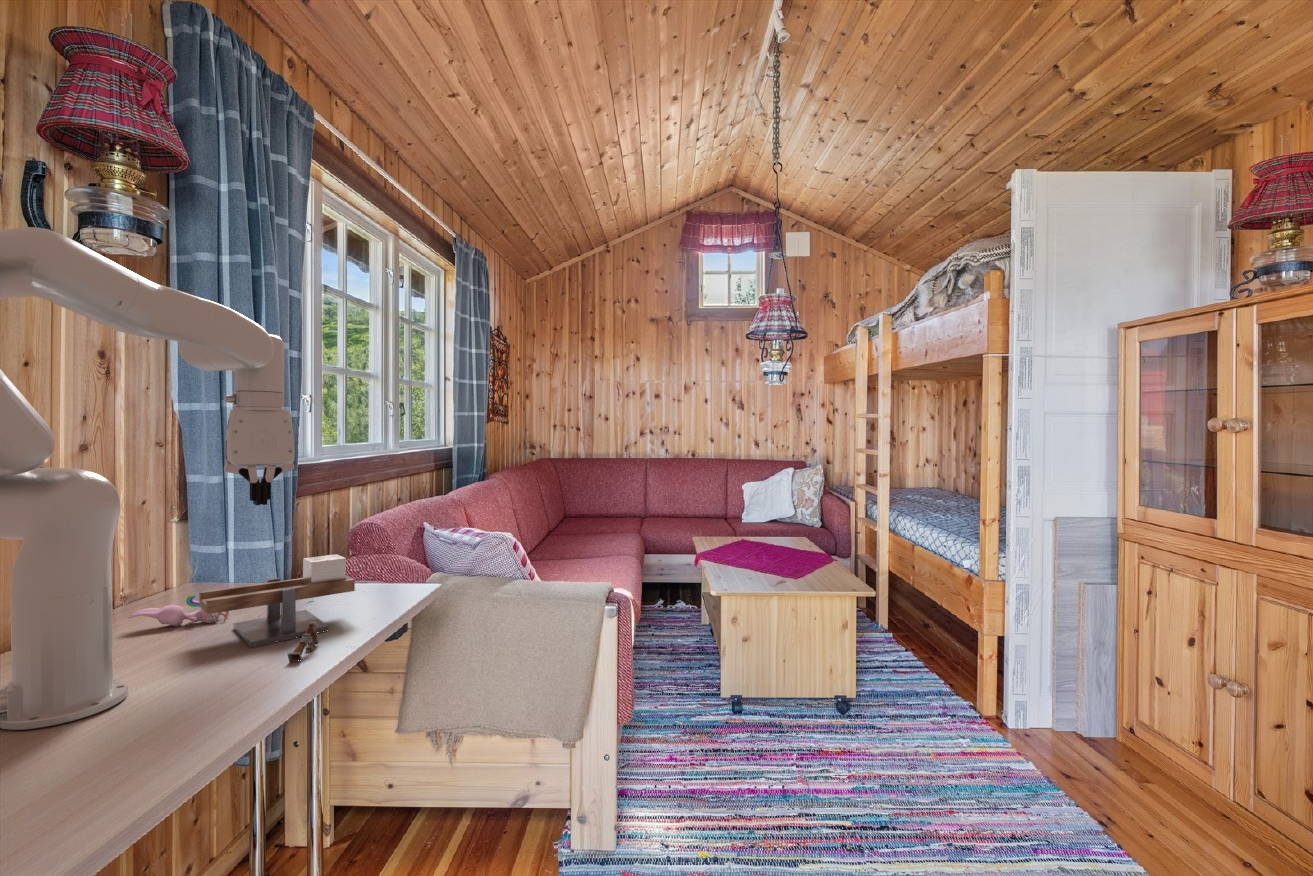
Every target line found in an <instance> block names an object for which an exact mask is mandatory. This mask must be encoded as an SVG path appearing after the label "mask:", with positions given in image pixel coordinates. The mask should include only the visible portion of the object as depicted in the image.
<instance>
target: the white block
mask: <svg viewBox="0 0 1313 876" xmlns="http://www.w3.org/2000/svg"><path fill="white" fill-rule="evenodd" d="M302 559H303V560H302V578H303V585H305V586H306V585H313V584H319V583H326V582H333V581H340V580H346V575H347V557H344V556H342V555H340V554H338V553H337V554H327V555H320V556H312V557H304V558H302Z"/></svg>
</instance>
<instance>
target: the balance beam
mask: <svg viewBox="0 0 1313 876" xmlns="http://www.w3.org/2000/svg"><path fill="white" fill-rule="evenodd" d="M355 580H356V579H355V578H352V577H350V576H349V575H347V574H346V580H340V581H333V582H326V583H319V584H313V585H306V586H305V585H303V577H299V578H292V579H285V580H284V579H283V580H280V581H276V582H269V583H266V582H264V583H256V584H249V585H247V584H246V585H240V586H234V587H226V588H217V589H212V590H204V591H199V593H198V597H199V598H198V601H199V605H200V606H201V607H202V609H203V610H204V611H205V612H206V614H213V613H219V612H222V613H226V612H225V611H229V612H230V611H237V610H242V609H248V608H249V609H250V608H256V607H261V606H262V607H263V606H267V605H269V604H276V603H280V604H281V589H287V588H293V587H294V588H295V600H296V601H300V600H307V599H313V598H318V597H319V598H321V597H324V596H331V595H337V594H343V593H351V592H356V591H355V590H356V589H355V583H356V581H355ZM201 607H200V608H201Z"/></svg>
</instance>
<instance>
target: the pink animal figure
mask: <svg viewBox="0 0 1313 876" xmlns="http://www.w3.org/2000/svg"><path fill="white" fill-rule="evenodd" d="M196 597H197V595H195V594H191V595H188V596H187V597H186V599H185V602H186V605H187V606H189V607H193V608H197V607H198V608H200V609H198V610H196V611H192V612H191V613H189V612H188V613H187V612H185V608H184V607H183V606H181V605H177V604H169V605H165V606H163V607H162V608H158V607H148V608H142V609H139V610H137V611H135V612H134V613H131V614H130V615H129V616H128V617H127V619H131V618H135V617H141V616H143V617H149V618H153V619H156V620H157V621H158V622H159V624H161V625H170V626H171V627H179V625H182V624H183V622H184V621H185V620H188V621H191V622H192V623H196V622H202V623H204V624H205V623H207V624H214V623H216V622H217V621H218V619H219V618H220V616H223V621H224V622H226V620H227V619H228V617H229V613H230V611H225V612H219V613H213V614H206V612H205V611H204V610H203V609H202V607H201V606H200V605H199V600H195V598H196Z"/></svg>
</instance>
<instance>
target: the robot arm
mask: <svg viewBox="0 0 1313 876" xmlns="http://www.w3.org/2000/svg"><path fill="white" fill-rule="evenodd" d="M32 297H35V298H39V299H42V300H45V301H48V302H50V303H52V304H54V305H57V306H58V307H61V308H64V309H67V310H69V311H71V312H72V313H76V314H79V316H80V315H81V316H82V317H85V318H87V319H89V320H91V321H94V322H96V323H98V324H101V325H103V326H105V327H107V328H110V329H112V330H114V331H117V332H119V333H123V334H126V335H131V336H136V337H142V338H146V339H154V340H155V339H156V340H165V341H175V342H178V346H177V347H178V353H179V355H180V357H181V358H182V360H183V361H185V363H187V364H188V365H190V366H191V367H193V368H195V369H198V370H201V371H207V372H223V371H224V372H225V371H231V372H233V373H234V392H233V393H232V394H229V395H224V403H226V404H227V403H228V404H230V405H231V404H232V405H233V407H234V409H230V411H229V414H228V419H227V426H226V433H225V445H224V459H225V463H224V466H223V471H224V473H228V474H229V473H231V474H235V475H239V476H241V477H242V478H243V479H245V480H246V481H247V482H248V483H249V500H250V502H252V501H253V505H254V506H261V505H263V506H266V505H268V500H272V499H271V497H272V482H274V479H276V478H277V477H278V476H279V475H280V474H282V473H286V472H289V471H294V470H295V467H296V466H295V464H294V461H295V458H296V449H295V448H296V446H295V437H294V428H293V421H292V416H291V415H292V414H291V412H290V410H285V344H284V341H283V339H282V338H281V337H280V336H278V335H274V334H270V333H268V332H267V330H265V328H263V327H262V326H261V325H260V324H259V323H257V322H255V321H254V320H252V319H250V318H248V317H246V316H245V315H243V314H242V313H239V311H235V310H234V309H232V308H230V307H228V306H224V305H223V304H220V303H218V302H215V301H211V300H209V299H205V298H203V297H199V296H196V295H194V294H190V293H187V292H184V291H181V290H178V289H175V288H172V287H168V286H166V285H162V284H158V283H156V282H153V281H151V280H149V279H147V278H145V277H143V276H141V275H139V274H137V272H136V273H135V272H134V271H131V270H129V269H127V268H126V267H124V266H122V265H120V264H118V263H116V262H115V261H113V260H111V259H109V258H107V257H105V256H103V255H102V254H100V253H98V252H96V251H95V250H93V249H90V248H89V247H87V246H85V245H83V244H81V243H80V242H78V241H76V240H74V239H72V238H70V237H68V236H67V235H64V234H62V233H59V232H57V231H55V230H52V229H49V228H42V227H37V226H36V227H33V226H29V227H26V226H25V227H14V228H3V229H0V301H2V300H6V299H13V298H15V299H16V298H32ZM54 435H55V434H54V433H53V431H52V429H51V427H50V426H49V425H48V423H47V422H46V421H45V419H44V418H43V417H42V416H41V415H40V414H39V413H38V412H37V410H36V409H35V408H34V406H32V404H31V403H30V402H29V401H28V399H26V397H25V396H24V395H23V393H21V391H19V389H18V388H17V387H16V386H15V385H14V383H13V382H12V381H11V380H10V379H9V377H7V375H6V374H5V373H4V372H3V370H2V369H1V368H0V539H7V540H22V542H21V546H20V548H19V549H18V552H17V555H16V557H15V560H14V562H13V564H12V565H13V566H12V569H11V573H10V574H11V575H10V586H9V587H10V588H9V592H10V594H9V596H10V643H11V644H10V647H11V649H10V651H11V653H10V654H11V657H10V659H11V661H10V662H11V678H9V679H8V683H7V684H6V685H2V686H0V729H2V730H9V731H12V730H13V731H19V730H20V731H23V730H32V729H33V730H34V729H40V728H46V727H51V726H52V727H53V726H56V725H62V724H65V723H70V722H74V721H77V720H81V719H83V718H88V717H90V716H93V715H96V714H98V713H101V712H103V711H106V710H108V709H109V708H112V707H114V706H115V705H117V704H119V703H121V702H122V701H123V700H124V699H125V698H126V697H127V696H128V694H129V685H128V683H126V682H124V681H122V680H121V681H120V680H118V679H117V680H115V679H114V668H113V667H114V666H113V665H114V662H113V661H114V660H113V659H114V657H113V656H114V655H113V654H114V653H113V649H114V647H113V644H114V643H113V582H112V576H113V575H112V571H113V570H112V569H113V568H112V561H113V560H112V559H113V547H114V540H115V535H116V530H117V526H118V523H119V519H120V512H121V499H120V495H119V492H118V489H116V487H115V486H114V484H113V483H112V482H111V481H110V480H108V478H106V477H105V476H103V475H101V474H99V473H96V472H93V471H90V470H86V469H81V468H72V467H42V466H43V465H45V464H46V463H47V462H48V461H49V460H50V459H51V458H52V456H53V455H54V452H55V449H56V439H55V436H54ZM238 466H239V467H238ZM259 466H261V467H262V466H263V473H262V477H261V479H259V477H258V472H257V467H259Z"/></svg>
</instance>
